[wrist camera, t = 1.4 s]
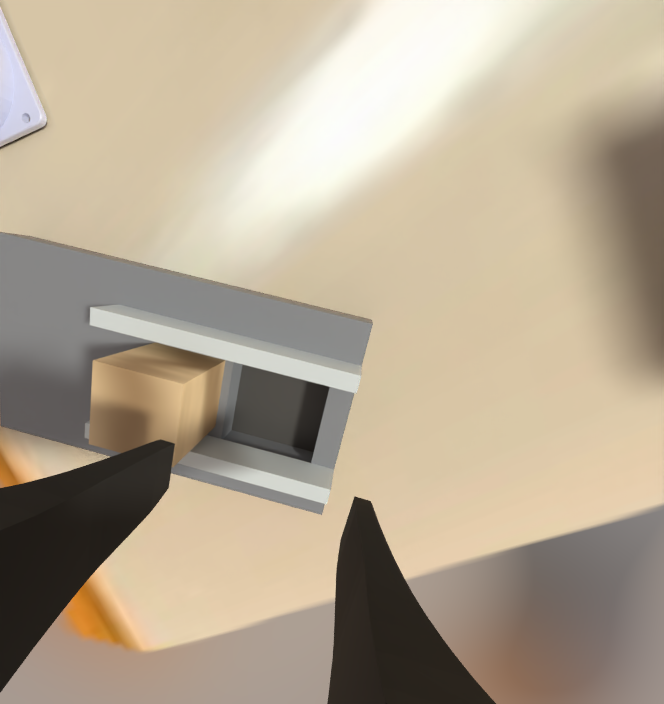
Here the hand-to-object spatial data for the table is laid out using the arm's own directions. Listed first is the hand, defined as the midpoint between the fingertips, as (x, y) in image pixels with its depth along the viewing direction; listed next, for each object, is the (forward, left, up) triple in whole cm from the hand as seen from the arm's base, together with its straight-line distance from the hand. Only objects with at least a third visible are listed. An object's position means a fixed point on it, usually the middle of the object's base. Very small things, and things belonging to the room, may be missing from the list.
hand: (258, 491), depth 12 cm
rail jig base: (-8, +4, -9) cm, 13 cm away
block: (-6, +4, -7) cm, 10 cm away
